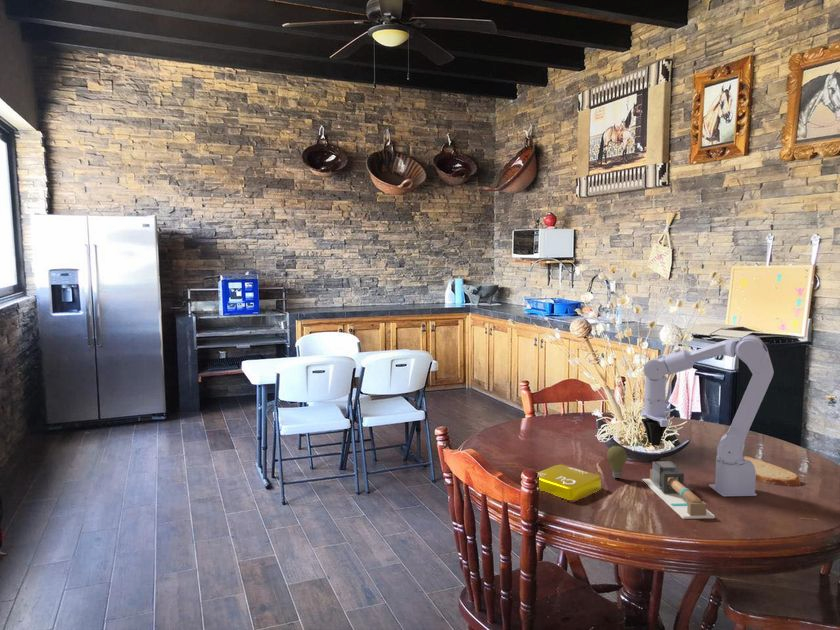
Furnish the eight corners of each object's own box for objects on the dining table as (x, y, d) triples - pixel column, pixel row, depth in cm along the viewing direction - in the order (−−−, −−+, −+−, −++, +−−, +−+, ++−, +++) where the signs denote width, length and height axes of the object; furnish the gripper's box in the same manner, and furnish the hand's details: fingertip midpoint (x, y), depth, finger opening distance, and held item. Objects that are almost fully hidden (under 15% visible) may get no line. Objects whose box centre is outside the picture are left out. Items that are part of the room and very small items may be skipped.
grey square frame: (661, 491, 163) (662, 472, 162) (681, 490, 163) (681, 471, 162) (663, 493, 161) (664, 474, 161) (683, 492, 161) (683, 473, 161)
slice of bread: (805, 488, 167) (806, 475, 167) (736, 484, 171) (737, 471, 171) (780, 466, 185) (780, 455, 184) (718, 463, 188) (719, 452, 188)
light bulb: (602, 476, 177) (603, 444, 176) (617, 474, 179) (618, 442, 178) (615, 483, 171) (615, 449, 171) (630, 480, 173) (631, 447, 173)
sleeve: (652, 481, 170) (652, 461, 169) (669, 481, 170) (670, 461, 169) (659, 488, 165) (659, 467, 164) (677, 488, 165) (678, 467, 164)
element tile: (603, 490, 167) (603, 474, 167) (573, 505, 157) (573, 488, 157) (559, 476, 178) (559, 461, 178) (528, 489, 169) (528, 473, 168)
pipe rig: (642, 480, 173) (642, 464, 173) (669, 480, 173) (669, 464, 173) (683, 518, 147) (683, 499, 147) (714, 518, 147) (715, 499, 147)
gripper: (632, 393, 180) (631, 437, 181) (651, 405, 166) (650, 452, 167) (655, 393, 180) (654, 436, 182) (676, 404, 166) (675, 451, 167)
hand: (653, 444), depth 174 cm, fingers closed
